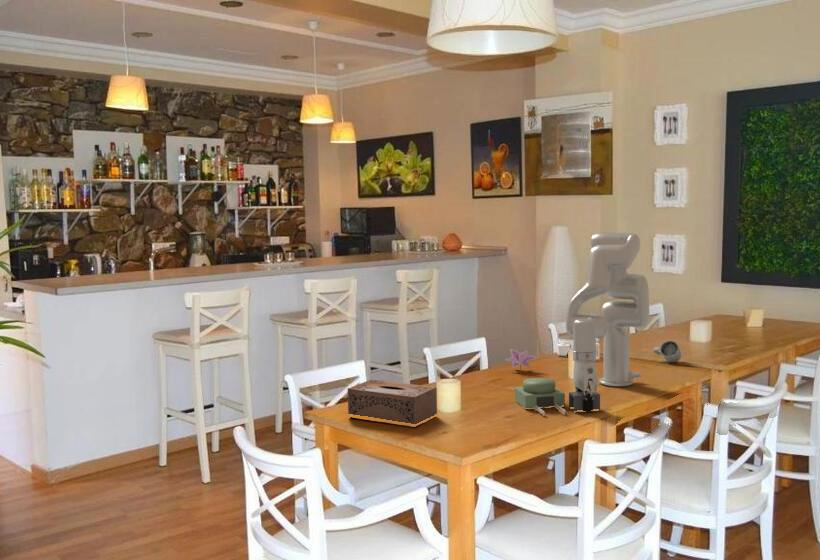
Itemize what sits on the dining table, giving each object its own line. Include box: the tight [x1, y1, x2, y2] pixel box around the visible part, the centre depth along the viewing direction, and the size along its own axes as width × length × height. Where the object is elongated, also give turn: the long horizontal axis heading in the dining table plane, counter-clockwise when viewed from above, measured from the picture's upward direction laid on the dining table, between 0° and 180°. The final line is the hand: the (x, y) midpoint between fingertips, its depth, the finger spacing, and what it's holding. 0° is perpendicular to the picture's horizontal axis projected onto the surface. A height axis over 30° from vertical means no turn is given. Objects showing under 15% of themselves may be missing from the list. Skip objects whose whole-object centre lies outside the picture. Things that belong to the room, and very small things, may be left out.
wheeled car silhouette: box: [556, 338, 601, 360], centre depth 339 cm, size 20×11×7 cm, turn 38°
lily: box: [505, 348, 538, 374], centre depth 315 cm, size 12×12×10 cm
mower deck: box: [514, 377, 567, 415], centre depth 259 cm, size 14×21×8 cm, turn 9°
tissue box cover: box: [347, 379, 438, 424], centre depth 252 cm, size 26×14×10 cm, turn 60°
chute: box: [568, 391, 601, 412], centre depth 255 cm, size 5×9×6 cm, turn 99°
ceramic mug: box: [653, 340, 682, 364], centre depth 326 cm, size 11×8×8 cm
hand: (584, 408), depth 255 cm, fingers open, 5 cm apart
